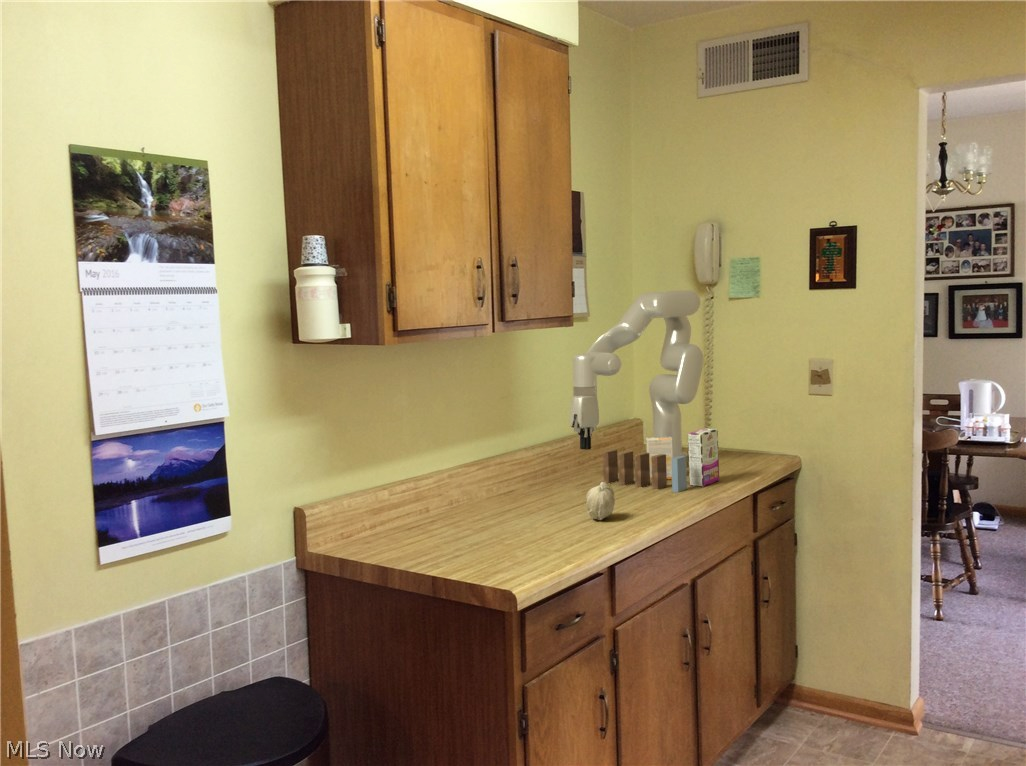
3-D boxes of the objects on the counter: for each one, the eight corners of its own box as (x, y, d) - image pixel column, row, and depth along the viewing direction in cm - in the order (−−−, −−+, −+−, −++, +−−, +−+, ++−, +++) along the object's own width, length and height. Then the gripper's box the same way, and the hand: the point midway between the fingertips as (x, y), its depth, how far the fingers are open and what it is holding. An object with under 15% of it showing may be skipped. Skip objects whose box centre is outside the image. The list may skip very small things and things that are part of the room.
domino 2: (619, 485, 277) (618, 453, 276) (628, 482, 281) (627, 450, 280) (624, 485, 276) (623, 453, 275) (633, 482, 279) (633, 451, 279)
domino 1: (603, 483, 281) (602, 451, 280) (613, 480, 285) (612, 449, 284) (608, 483, 280) (607, 452, 279) (618, 481, 283) (617, 449, 283)
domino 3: (635, 487, 273) (634, 454, 272) (644, 484, 277) (643, 452, 276) (641, 487, 272) (640, 455, 271) (650, 484, 275) (649, 452, 275)
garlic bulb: (609, 514, 239) (608, 477, 238) (625, 520, 231) (624, 482, 230) (578, 518, 235) (576, 481, 235) (592, 525, 227) (591, 486, 227)
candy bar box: (705, 479, 280) (704, 427, 279) (719, 481, 277) (718, 428, 276) (688, 485, 272) (687, 432, 270) (703, 487, 269) (702, 433, 267)
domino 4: (652, 489, 269) (651, 456, 268) (661, 486, 273) (660, 453, 272) (657, 489, 268) (657, 456, 267) (666, 487, 271) (666, 454, 271)
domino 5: (672, 491, 264) (671, 458, 264) (681, 488, 268) (680, 455, 267) (678, 492, 263) (677, 458, 262) (686, 489, 267) (686, 456, 266)
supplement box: (672, 476, 287) (671, 436, 286) (674, 479, 282) (673, 438, 281) (646, 477, 288) (645, 437, 287) (647, 480, 283) (646, 439, 282)
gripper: (589, 390, 294) (590, 445, 295) (561, 393, 283) (561, 450, 284) (608, 391, 289) (608, 447, 290) (580, 394, 278) (580, 452, 279)
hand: (585, 449), depth 287 cm, fingers closed
